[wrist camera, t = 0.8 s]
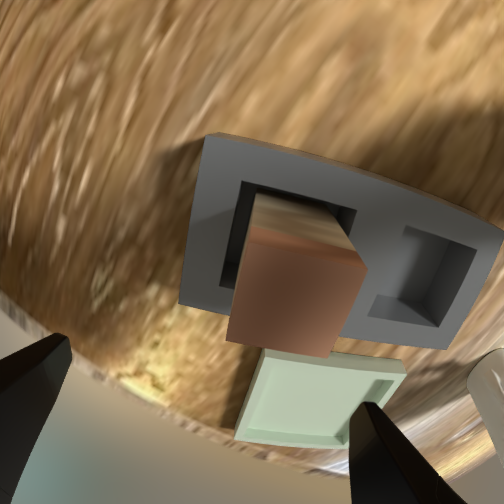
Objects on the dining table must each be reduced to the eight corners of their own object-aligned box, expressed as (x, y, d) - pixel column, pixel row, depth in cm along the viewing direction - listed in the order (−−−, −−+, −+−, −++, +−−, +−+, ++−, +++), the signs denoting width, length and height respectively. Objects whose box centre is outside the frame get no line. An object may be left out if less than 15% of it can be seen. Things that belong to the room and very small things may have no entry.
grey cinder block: (473, 212, 17) (506, 232, 14) (425, 317, 21) (446, 349, 17) (218, 132, 16) (205, 135, 13) (193, 270, 20) (178, 303, 16)
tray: (400, 359, 23) (407, 374, 21) (344, 435, 28) (347, 449, 26) (265, 340, 22) (264, 356, 21) (235, 425, 27) (233, 439, 25)
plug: (326, 204, 17) (368, 270, 10) (306, 266, 19) (327, 358, 11) (256, 187, 17) (249, 242, 9) (241, 252, 18) (225, 340, 11)
